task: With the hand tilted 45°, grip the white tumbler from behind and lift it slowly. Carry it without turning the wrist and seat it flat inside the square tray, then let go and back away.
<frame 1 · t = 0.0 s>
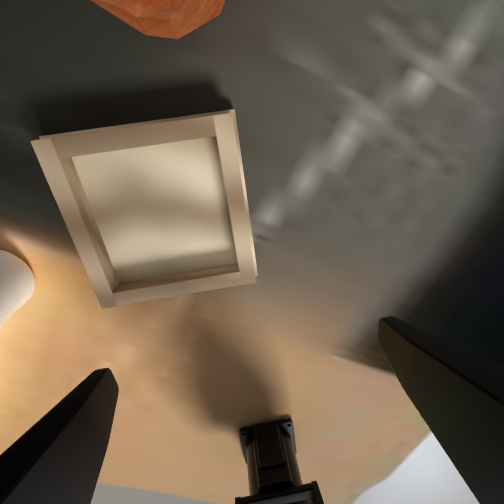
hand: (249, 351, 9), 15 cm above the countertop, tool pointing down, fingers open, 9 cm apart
white tumbler: (4, 274, 22), on the countertop
square tray: (165, 213, 21), on the countertop
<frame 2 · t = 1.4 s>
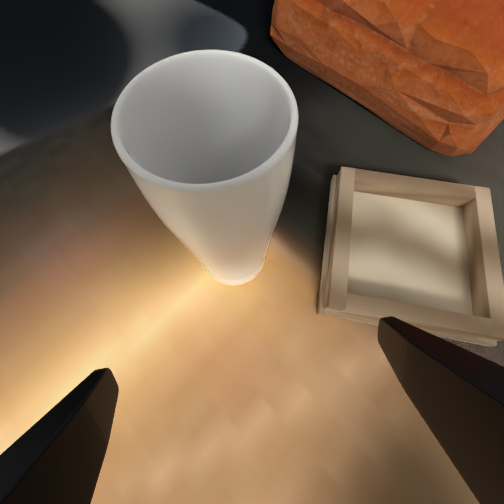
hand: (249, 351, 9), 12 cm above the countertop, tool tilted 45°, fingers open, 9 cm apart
bread: (383, 72, 32), on the countertop
white tumbler: (234, 257, 24), on the countertop
square tray: (400, 253, 23), on the countertop
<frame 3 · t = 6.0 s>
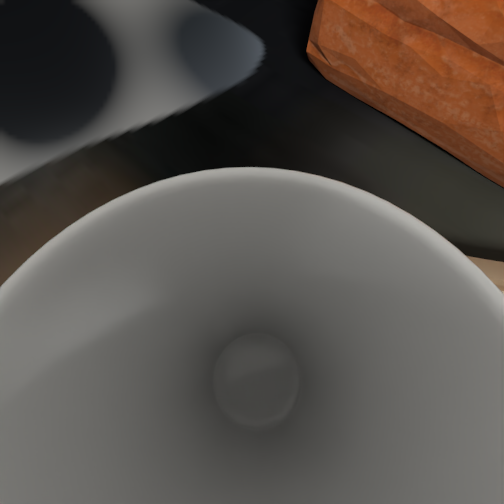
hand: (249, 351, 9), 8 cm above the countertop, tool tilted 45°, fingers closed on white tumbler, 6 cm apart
bread: (451, 96, 25), on the countertop
white tumbler: (257, 377, 17), on the countertop, touching gripper
square tray: (491, 372, 16), on the countertop
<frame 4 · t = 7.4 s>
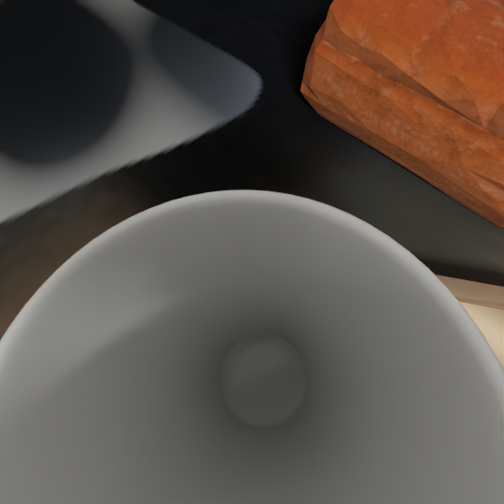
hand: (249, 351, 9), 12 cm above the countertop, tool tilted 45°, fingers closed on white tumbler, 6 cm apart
bread: (427, 127, 29), on the countertop
white tumbler: (264, 376, 17), point 3 cm above the countertop, touching gripper
square tray: (446, 368, 20), on the countertop
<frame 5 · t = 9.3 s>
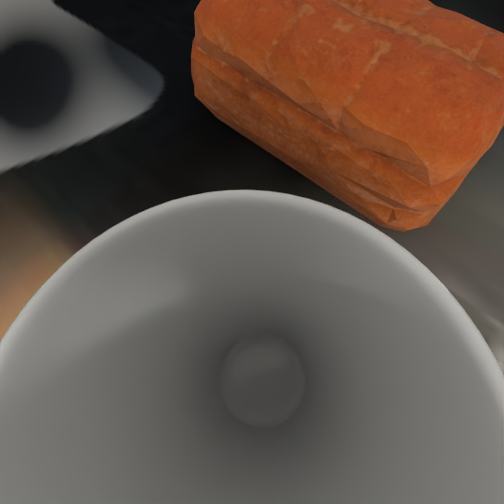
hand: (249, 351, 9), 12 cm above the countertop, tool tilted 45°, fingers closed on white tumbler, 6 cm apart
bread: (326, 128, 29), on the countertop
white tumbler: (263, 376, 17), point 3 cm above the countertop, touching gripper
when the fingers open (9 cm above the countertop, at t = 12.3 s): white tumbler stays where it is, resting on square tray.
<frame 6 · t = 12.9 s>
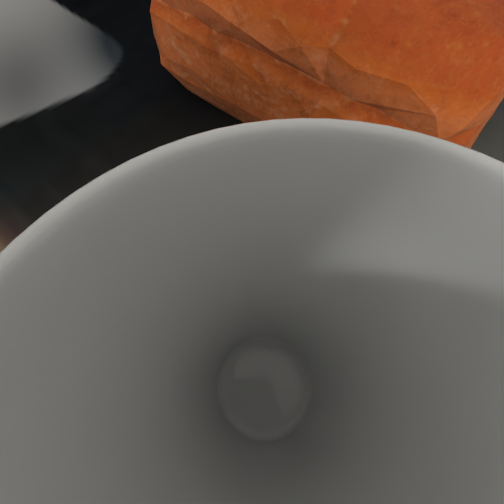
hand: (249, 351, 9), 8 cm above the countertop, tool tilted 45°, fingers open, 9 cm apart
bread: (312, 98, 25), on the countertop
white tumbler: (262, 384, 16), point 1 cm above the countertop, touching square tray, gripper
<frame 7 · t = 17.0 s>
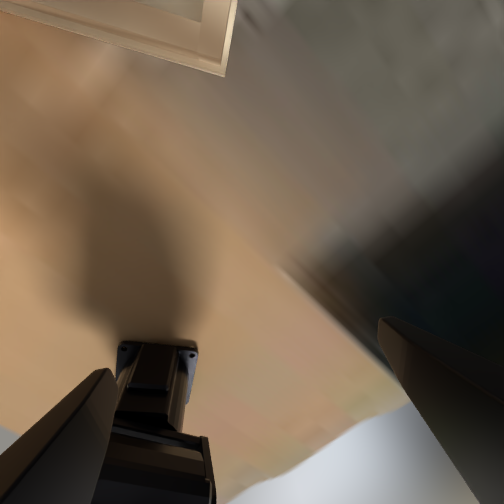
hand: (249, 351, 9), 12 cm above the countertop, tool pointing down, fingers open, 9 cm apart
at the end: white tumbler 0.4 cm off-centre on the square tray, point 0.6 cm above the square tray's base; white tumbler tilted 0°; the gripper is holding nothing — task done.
